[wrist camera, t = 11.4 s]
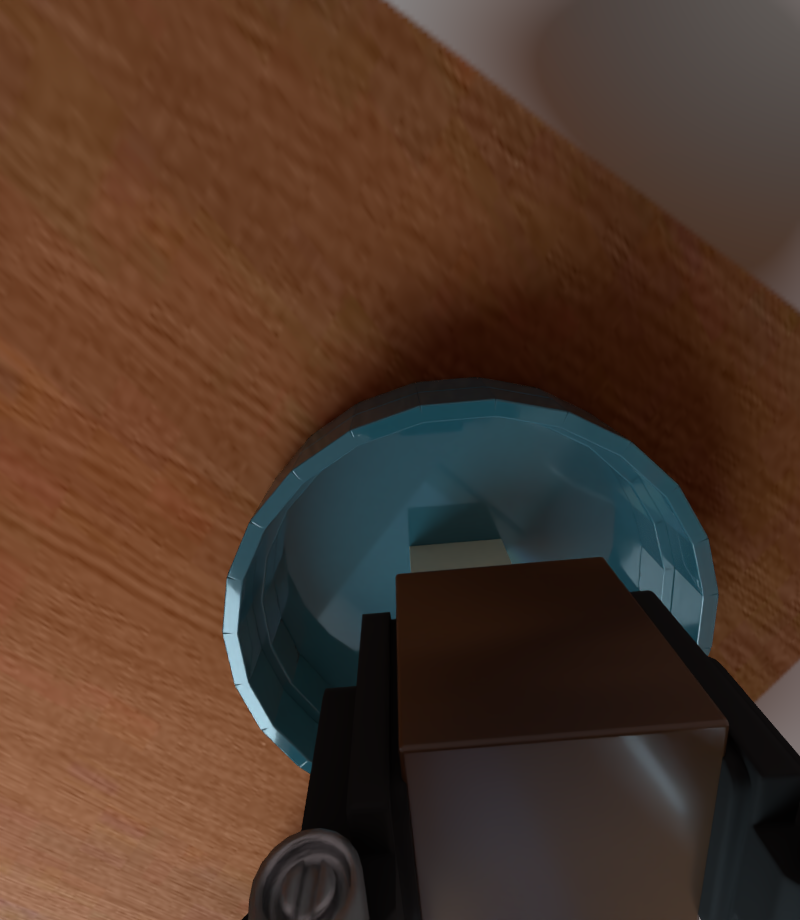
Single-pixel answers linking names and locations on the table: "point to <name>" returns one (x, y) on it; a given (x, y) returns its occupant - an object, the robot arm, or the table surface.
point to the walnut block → (550, 747)
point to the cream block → (458, 555)
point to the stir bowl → (439, 529)
